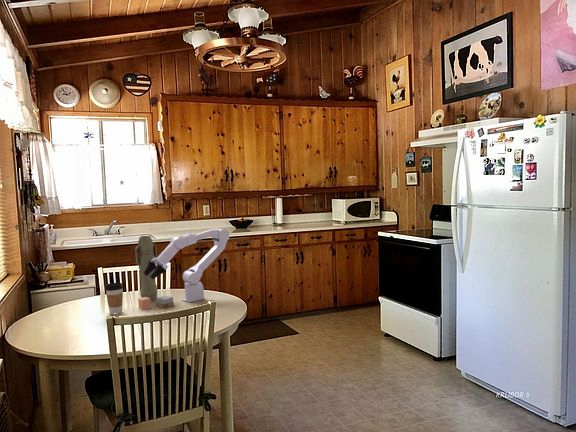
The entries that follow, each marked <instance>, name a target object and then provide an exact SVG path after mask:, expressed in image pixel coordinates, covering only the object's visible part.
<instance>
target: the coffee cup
mask: <svg viewBox="0 0 576 432" xmlns="http://www.w3.org/2000/svg"><path fill="white" fill-rule="evenodd" d="M123 289H124V287H123V283H122V282H111V283H110V282H109V283H106V284H105V287H104V290H105V292H106V294H105V295H106V301H107V307H108V311H109V312H108V313H109V315H111V314H114V313H120V312H122V313H123ZM120 314H121V313H120Z"/></svg>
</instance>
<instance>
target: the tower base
mask: <svg viewBox="0 0 576 432" xmlns="http://www.w3.org/2000/svg"><path fill="white" fill-rule="evenodd" d="M154 306H155V307H156V308H158V309H161V310H164V309H168V308H171V307H175V302H174V301H173V302H171V303H167V304H159V303H156V302H155V304H154Z"/></svg>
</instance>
